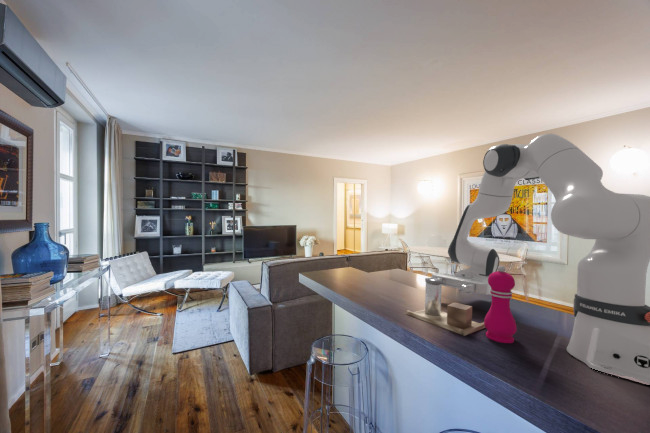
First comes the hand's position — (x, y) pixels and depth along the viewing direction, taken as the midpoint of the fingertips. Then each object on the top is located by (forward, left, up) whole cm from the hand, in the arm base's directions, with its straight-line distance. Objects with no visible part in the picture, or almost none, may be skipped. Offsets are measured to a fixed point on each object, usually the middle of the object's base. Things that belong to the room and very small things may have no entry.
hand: (450, 285), depth 97 cm
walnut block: (-12, +15, -8) cm, 21 cm away
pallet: (-7, +13, -9) cm, 17 cm away
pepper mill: (-22, +13, -9) cm, 27 cm away
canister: (-1, +12, -8) cm, 14 cm away
